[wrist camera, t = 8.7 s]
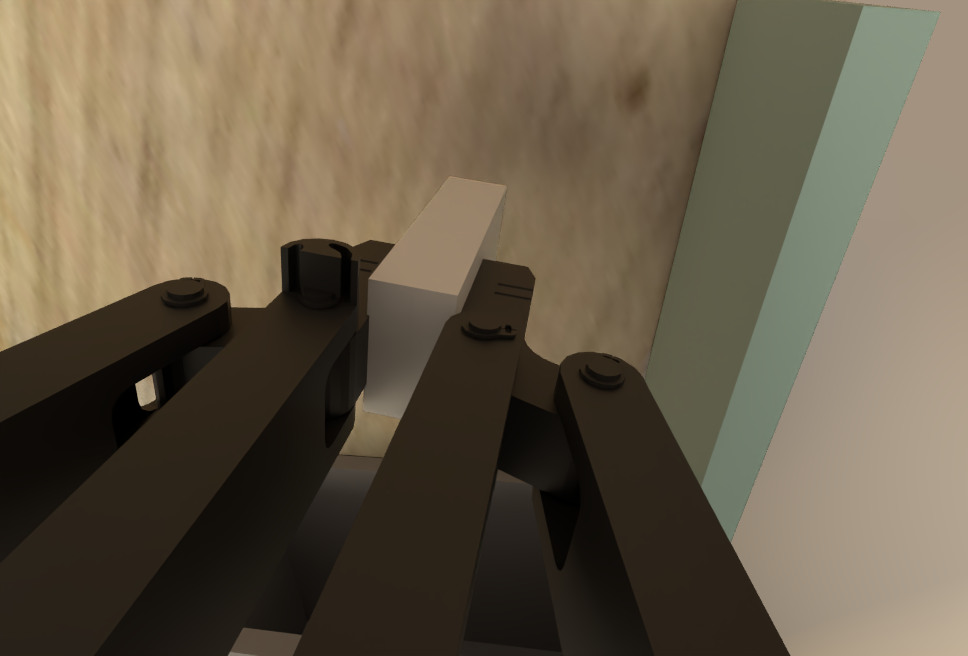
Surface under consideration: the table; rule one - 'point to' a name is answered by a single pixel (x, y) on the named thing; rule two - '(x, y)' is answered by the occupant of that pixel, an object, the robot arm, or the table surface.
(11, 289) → the table surface
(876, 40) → the pale green rectangular block
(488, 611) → the cabinet
